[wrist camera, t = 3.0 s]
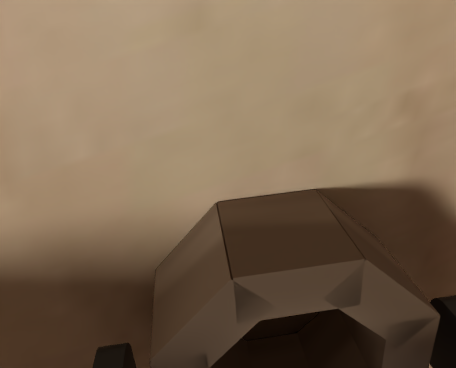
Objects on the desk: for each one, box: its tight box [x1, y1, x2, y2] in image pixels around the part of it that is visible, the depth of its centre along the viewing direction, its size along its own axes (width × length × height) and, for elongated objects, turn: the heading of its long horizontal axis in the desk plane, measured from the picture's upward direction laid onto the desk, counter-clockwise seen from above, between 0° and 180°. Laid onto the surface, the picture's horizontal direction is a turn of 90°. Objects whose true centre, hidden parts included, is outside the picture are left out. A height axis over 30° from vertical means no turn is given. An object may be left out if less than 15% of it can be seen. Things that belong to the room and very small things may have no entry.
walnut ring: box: [149, 190, 440, 368], centre depth 10 cm, size 6×6×3 cm
